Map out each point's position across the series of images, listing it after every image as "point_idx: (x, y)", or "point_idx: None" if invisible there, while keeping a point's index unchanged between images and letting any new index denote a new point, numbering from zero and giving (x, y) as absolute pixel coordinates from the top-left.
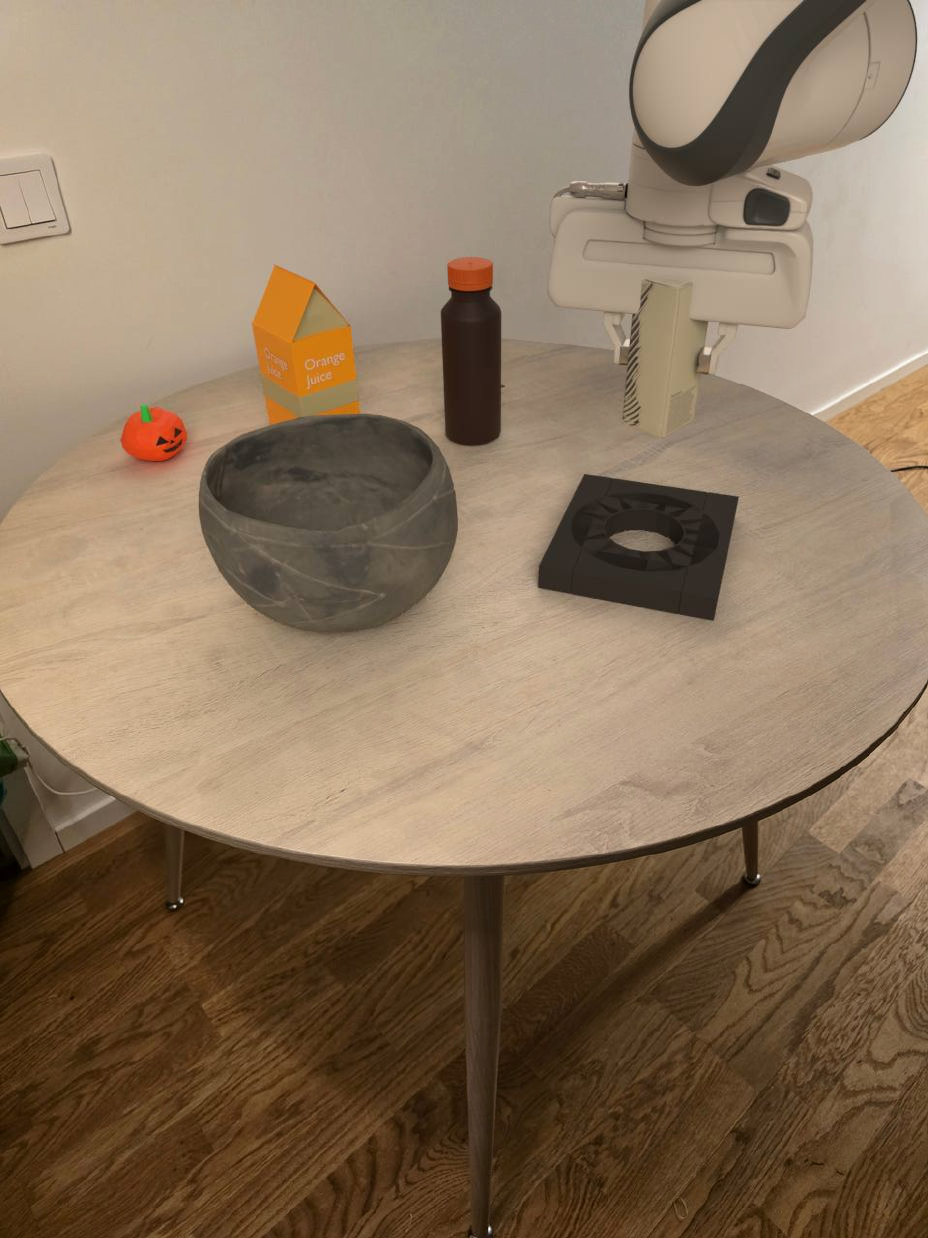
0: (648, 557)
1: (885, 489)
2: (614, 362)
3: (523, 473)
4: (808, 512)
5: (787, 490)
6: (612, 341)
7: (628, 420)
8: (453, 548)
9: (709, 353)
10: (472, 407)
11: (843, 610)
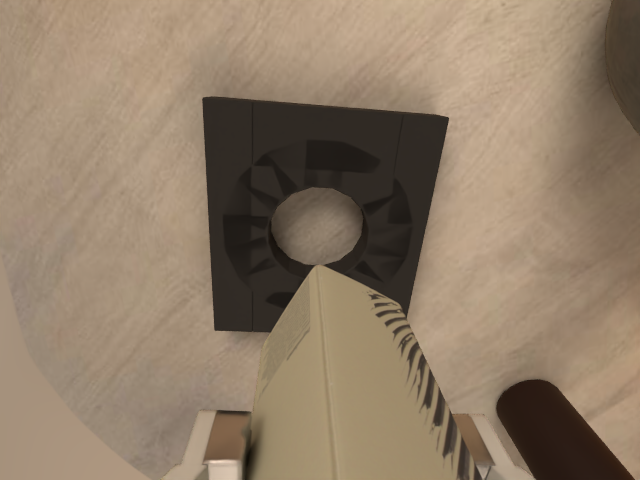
0: (305, 173)
1: (73, 396)
2: (482, 415)
3: (465, 342)
4: (143, 339)
5: (173, 373)
6: (529, 475)
7: (390, 304)
8: (633, 2)
9: (211, 473)
10: (557, 420)
11: (65, 159)
